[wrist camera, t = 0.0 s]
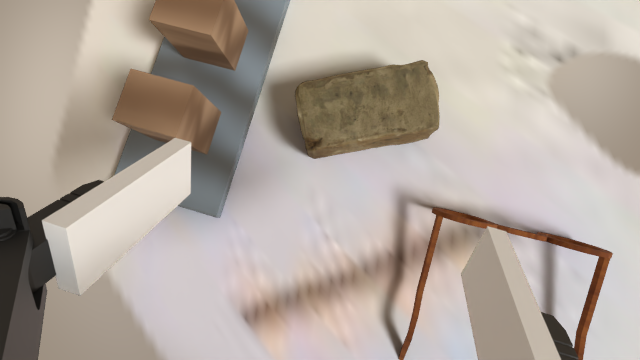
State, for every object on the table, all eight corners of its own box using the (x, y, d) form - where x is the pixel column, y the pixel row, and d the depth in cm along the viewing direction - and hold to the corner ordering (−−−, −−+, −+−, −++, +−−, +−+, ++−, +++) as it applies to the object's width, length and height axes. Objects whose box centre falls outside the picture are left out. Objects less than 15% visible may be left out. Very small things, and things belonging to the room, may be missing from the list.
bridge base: (219, 217, 31) (185, 215, 24) (117, 186, 32) (56, 175, 25) (291, -5, 33) (279, -66, 26) (194, -28, 34) (158, -92, 27)
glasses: (581, 242, 30) (630, 245, 25) (556, 402, 28) (602, 440, 23) (426, 204, 31) (443, 200, 26) (394, 357, 29) (405, 383, 24)
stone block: (297, 103, 32) (290, 81, 27) (421, 78, 32) (436, 51, 27) (308, 164, 31) (303, 152, 26) (435, 139, 31) (453, 123, 26)
